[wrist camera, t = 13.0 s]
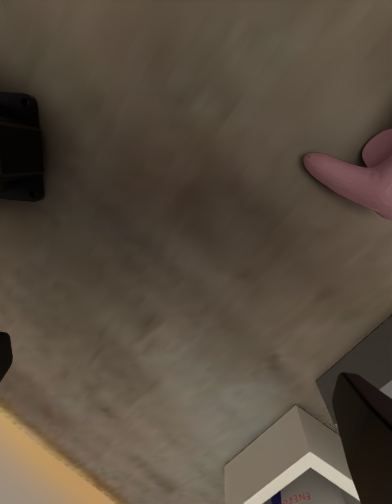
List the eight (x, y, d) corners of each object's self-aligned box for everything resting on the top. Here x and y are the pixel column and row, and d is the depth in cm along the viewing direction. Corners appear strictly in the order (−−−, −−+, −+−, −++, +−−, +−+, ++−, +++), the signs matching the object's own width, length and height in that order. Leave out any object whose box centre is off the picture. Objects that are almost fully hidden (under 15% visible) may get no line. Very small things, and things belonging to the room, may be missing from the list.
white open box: (224, 466, 26) (225, 523, 22) (295, 404, 24) (311, 457, 20) (301, 516, 28) (316, 581, 23) (378, 463, 25) (409, 524, 21)
